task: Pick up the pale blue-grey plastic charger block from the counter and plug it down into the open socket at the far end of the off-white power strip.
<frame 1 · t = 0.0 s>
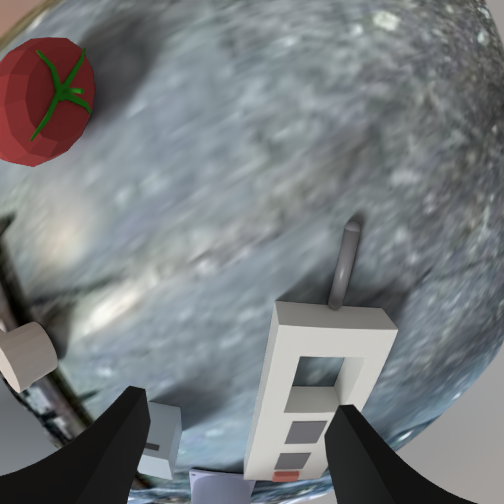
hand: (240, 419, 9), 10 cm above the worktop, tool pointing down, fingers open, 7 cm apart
power strip: (301, 403, 22), on the worktop
tomato: (75, 106, 15), on the worktop
charger: (165, 417, 23), on the worktop
toilet paper hanger: (7, 317, 21), on the worktop
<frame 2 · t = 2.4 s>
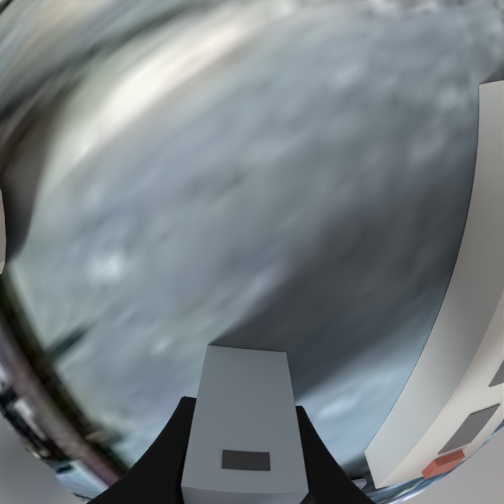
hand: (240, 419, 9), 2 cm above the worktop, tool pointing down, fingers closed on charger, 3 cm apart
power strip: (489, 313, 10), on the worktop
charger: (241, 385, 11), on the worktop, touching gripper
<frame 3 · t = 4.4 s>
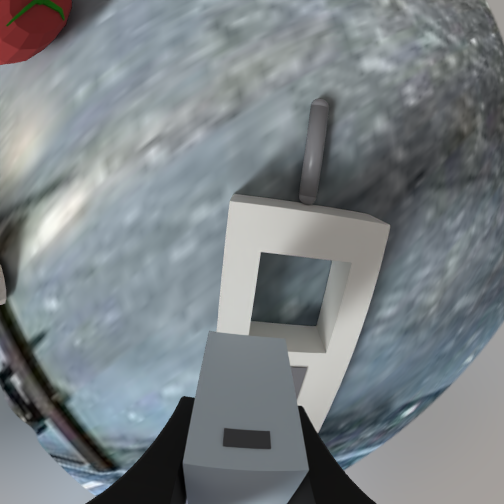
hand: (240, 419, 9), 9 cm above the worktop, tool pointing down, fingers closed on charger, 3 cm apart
power strip: (276, 350, 19), on the worktop
tomato: (54, 26, 12), on the worktop
charger: (241, 372, 12), point 7 cm above the worktop, touching gripper
when the fingers open (4 cm above the worktop, at t = 6.6 s): charger drops 1 cm, resting in power strip.
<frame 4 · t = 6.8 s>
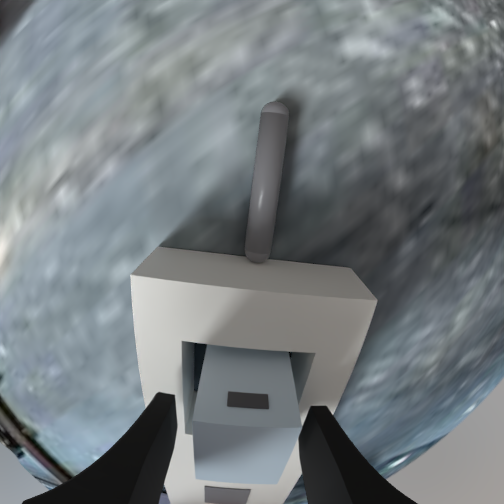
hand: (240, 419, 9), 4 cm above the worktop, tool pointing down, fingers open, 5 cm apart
power strip: (234, 420, 15), on the worktop
charger: (243, 352, 13), resting in power strip
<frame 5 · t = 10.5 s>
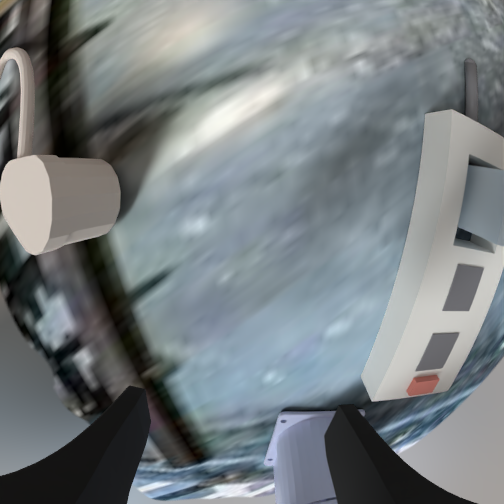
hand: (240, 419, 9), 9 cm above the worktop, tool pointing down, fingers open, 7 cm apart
power strip: (442, 265, 18), on the worktop
charger: (458, 195, 16), resting in power strip
toilet paper hanger: (38, 178, 16), on the worktop
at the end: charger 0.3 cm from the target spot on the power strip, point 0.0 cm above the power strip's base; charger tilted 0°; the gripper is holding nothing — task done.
